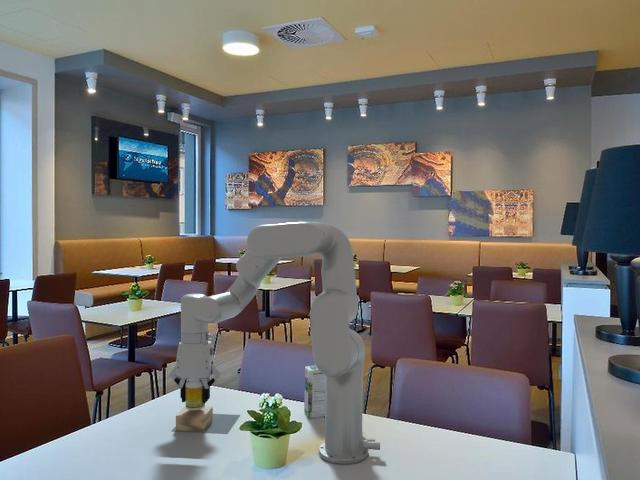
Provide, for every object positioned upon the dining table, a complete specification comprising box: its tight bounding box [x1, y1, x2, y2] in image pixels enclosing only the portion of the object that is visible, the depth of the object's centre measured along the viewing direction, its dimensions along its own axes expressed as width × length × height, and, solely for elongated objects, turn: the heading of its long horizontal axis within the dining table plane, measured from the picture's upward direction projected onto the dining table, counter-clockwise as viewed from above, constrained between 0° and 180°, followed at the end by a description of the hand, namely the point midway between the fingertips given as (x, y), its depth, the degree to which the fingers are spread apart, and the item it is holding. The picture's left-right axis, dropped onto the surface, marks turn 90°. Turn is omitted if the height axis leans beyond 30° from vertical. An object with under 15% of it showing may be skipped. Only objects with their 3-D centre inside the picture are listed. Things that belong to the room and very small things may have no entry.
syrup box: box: [303, 365, 326, 419], centre depth 156 cm, size 6×6×14 cm
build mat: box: [171, 413, 241, 435], centre depth 146 cm, size 16×14×1 cm
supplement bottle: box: [185, 378, 206, 410], centre depth 144 cm, size 5×5×10 cm
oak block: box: [175, 405, 214, 431], centre depth 144 cm, size 8×8×4 cm
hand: (195, 400), depth 144 cm, fingers closed on supplement bottle, 5 cm apart
